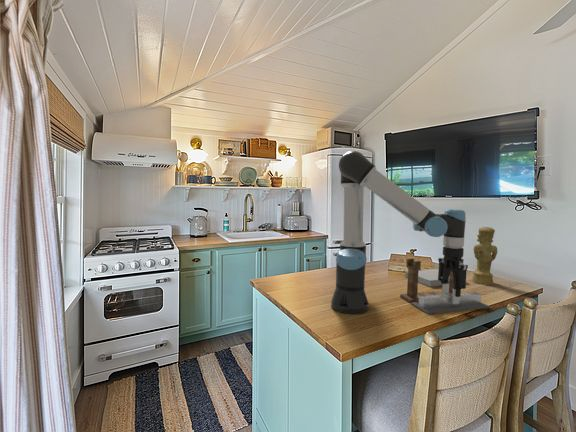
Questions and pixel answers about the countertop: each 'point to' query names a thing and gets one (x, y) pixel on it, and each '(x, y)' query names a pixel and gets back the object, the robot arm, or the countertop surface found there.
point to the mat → (450, 308)
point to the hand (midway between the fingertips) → (450, 301)
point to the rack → (413, 282)
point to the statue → (484, 256)
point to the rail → (448, 300)
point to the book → (428, 277)
